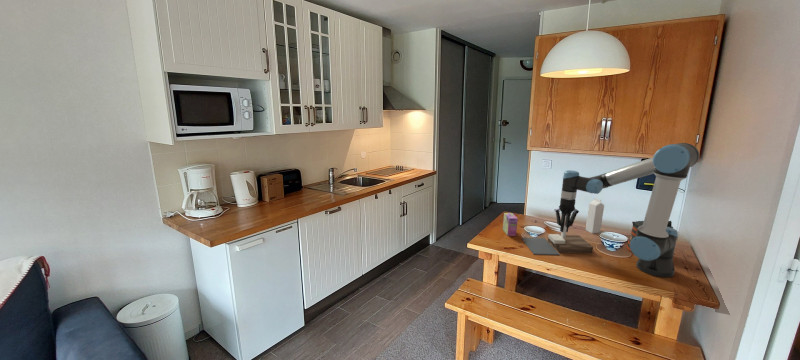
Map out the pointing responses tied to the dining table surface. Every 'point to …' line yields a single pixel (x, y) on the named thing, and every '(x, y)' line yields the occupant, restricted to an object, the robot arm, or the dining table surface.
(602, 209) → the milk
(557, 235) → the tile
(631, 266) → the dining table surface
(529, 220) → the dining table surface
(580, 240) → the deck
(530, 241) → the mat
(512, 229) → the box
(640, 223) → the beer stein
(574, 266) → the dining table surface
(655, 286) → the dining table surface
